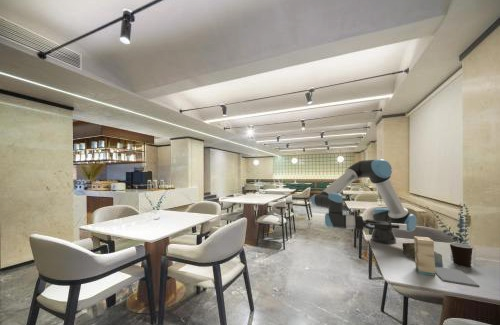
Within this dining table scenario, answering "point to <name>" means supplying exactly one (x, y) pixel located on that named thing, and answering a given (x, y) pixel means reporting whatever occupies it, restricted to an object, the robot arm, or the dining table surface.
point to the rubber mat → (454, 276)
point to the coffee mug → (461, 254)
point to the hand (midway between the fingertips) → (406, 227)
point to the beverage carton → (410, 250)
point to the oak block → (424, 255)
